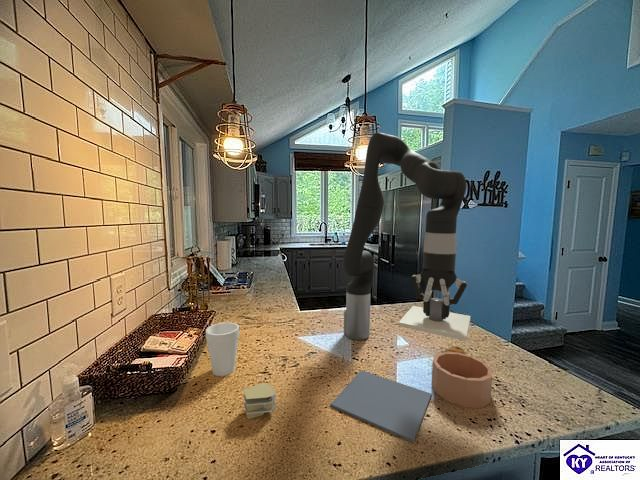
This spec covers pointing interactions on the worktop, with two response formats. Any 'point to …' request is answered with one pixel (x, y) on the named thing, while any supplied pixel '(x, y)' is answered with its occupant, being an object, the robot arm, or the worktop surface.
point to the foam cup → (222, 347)
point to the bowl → (462, 379)
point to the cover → (437, 321)
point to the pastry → (455, 349)
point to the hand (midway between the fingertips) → (436, 316)
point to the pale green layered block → (259, 400)
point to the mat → (384, 404)
